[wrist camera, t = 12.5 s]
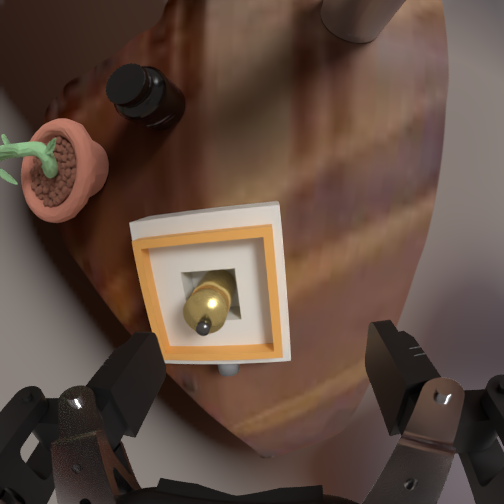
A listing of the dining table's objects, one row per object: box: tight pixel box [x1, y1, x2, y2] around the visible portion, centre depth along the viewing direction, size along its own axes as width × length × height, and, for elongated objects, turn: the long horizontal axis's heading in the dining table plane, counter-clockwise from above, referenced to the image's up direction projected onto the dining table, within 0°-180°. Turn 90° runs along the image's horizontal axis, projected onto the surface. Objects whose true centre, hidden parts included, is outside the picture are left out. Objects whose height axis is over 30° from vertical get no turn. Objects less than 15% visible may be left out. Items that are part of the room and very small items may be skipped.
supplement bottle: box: [106, 63, 185, 130], centre depth 29 cm, size 7×7×12 cm
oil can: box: [183, 269, 236, 336], centre depth 33 cm, size 5×5×10 cm
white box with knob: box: [129, 201, 291, 376], centre depth 36 cm, size 23×18×8 cm
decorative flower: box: [0, 118, 109, 223], centre depth 23 cm, size 15×14×30 cm
